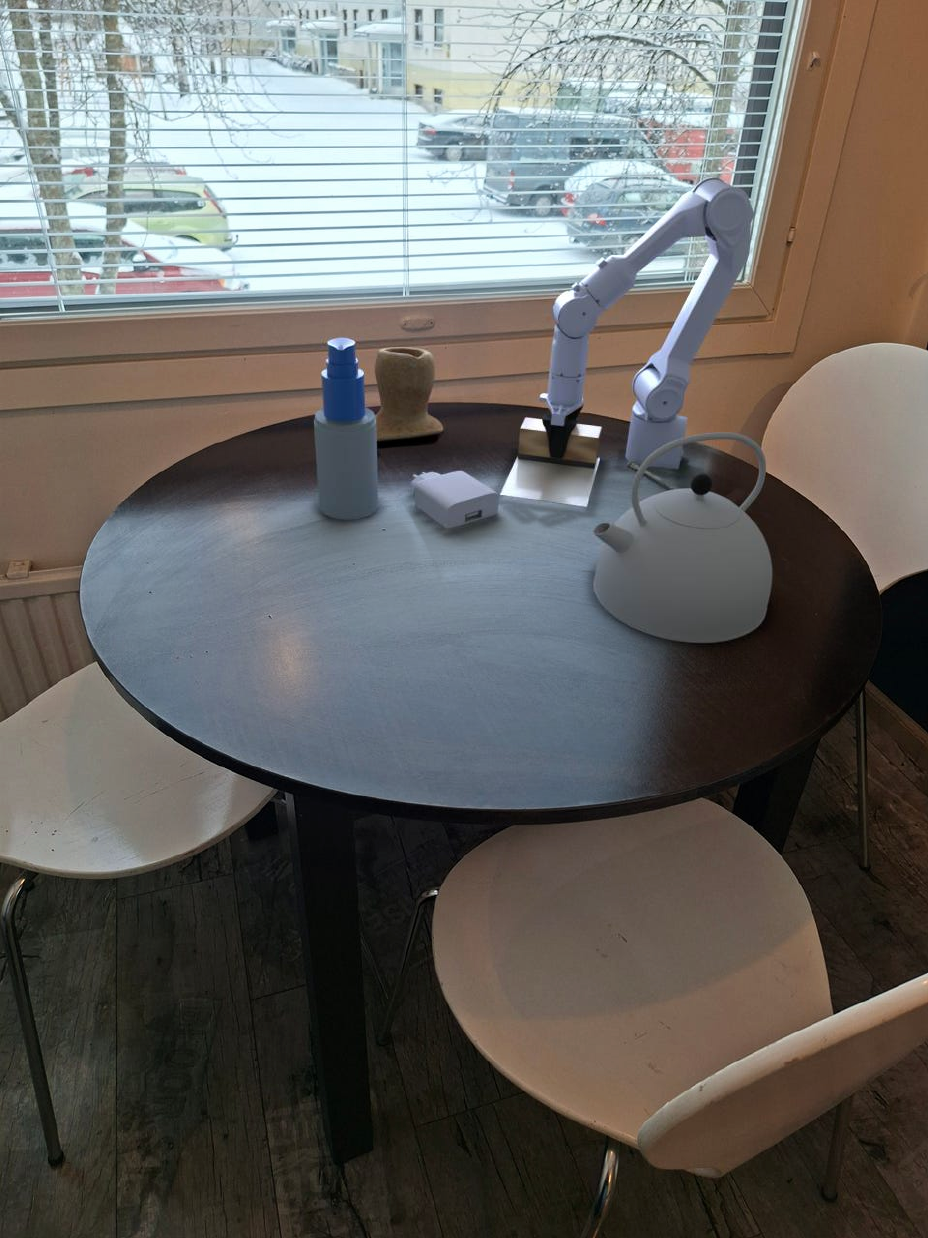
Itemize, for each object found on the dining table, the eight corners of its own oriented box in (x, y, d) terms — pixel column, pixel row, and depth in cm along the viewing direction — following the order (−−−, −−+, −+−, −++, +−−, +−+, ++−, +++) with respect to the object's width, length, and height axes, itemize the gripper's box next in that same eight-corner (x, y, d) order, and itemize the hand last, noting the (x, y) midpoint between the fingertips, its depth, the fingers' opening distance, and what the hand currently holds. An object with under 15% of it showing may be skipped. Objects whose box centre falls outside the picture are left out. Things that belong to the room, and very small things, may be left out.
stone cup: (427, 416, 164) (428, 336, 155) (449, 441, 155) (451, 357, 146) (348, 425, 159) (345, 342, 150) (366, 451, 150) (364, 365, 141)
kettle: (618, 656, 104) (648, 484, 91) (553, 560, 122) (570, 405, 109) (801, 630, 110) (853, 465, 97) (713, 542, 128) (747, 393, 115)
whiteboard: (603, 462, 150) (604, 457, 149) (590, 515, 134) (590, 509, 133) (517, 451, 152) (518, 445, 152) (494, 501, 136) (494, 495, 136)
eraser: (597, 457, 149) (601, 426, 146) (594, 469, 145) (598, 437, 142) (522, 447, 151) (525, 417, 148) (517, 458, 147) (520, 428, 144)
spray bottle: (327, 490, 137) (317, 329, 123) (383, 494, 137) (379, 333, 123) (313, 517, 130) (301, 349, 116) (372, 521, 129) (367, 354, 115)
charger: (442, 481, 141) (497, 519, 132) (393, 494, 137) (447, 534, 127) (442, 454, 139) (499, 490, 129) (393, 467, 134) (448, 505, 124)
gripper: (549, 354, 146) (542, 431, 154) (535, 383, 134) (528, 464, 142) (591, 359, 145) (582, 436, 153) (580, 388, 133) (571, 470, 141)
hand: (559, 450), depth 147 cm, fingers closed on eraser, 5 cm apart
